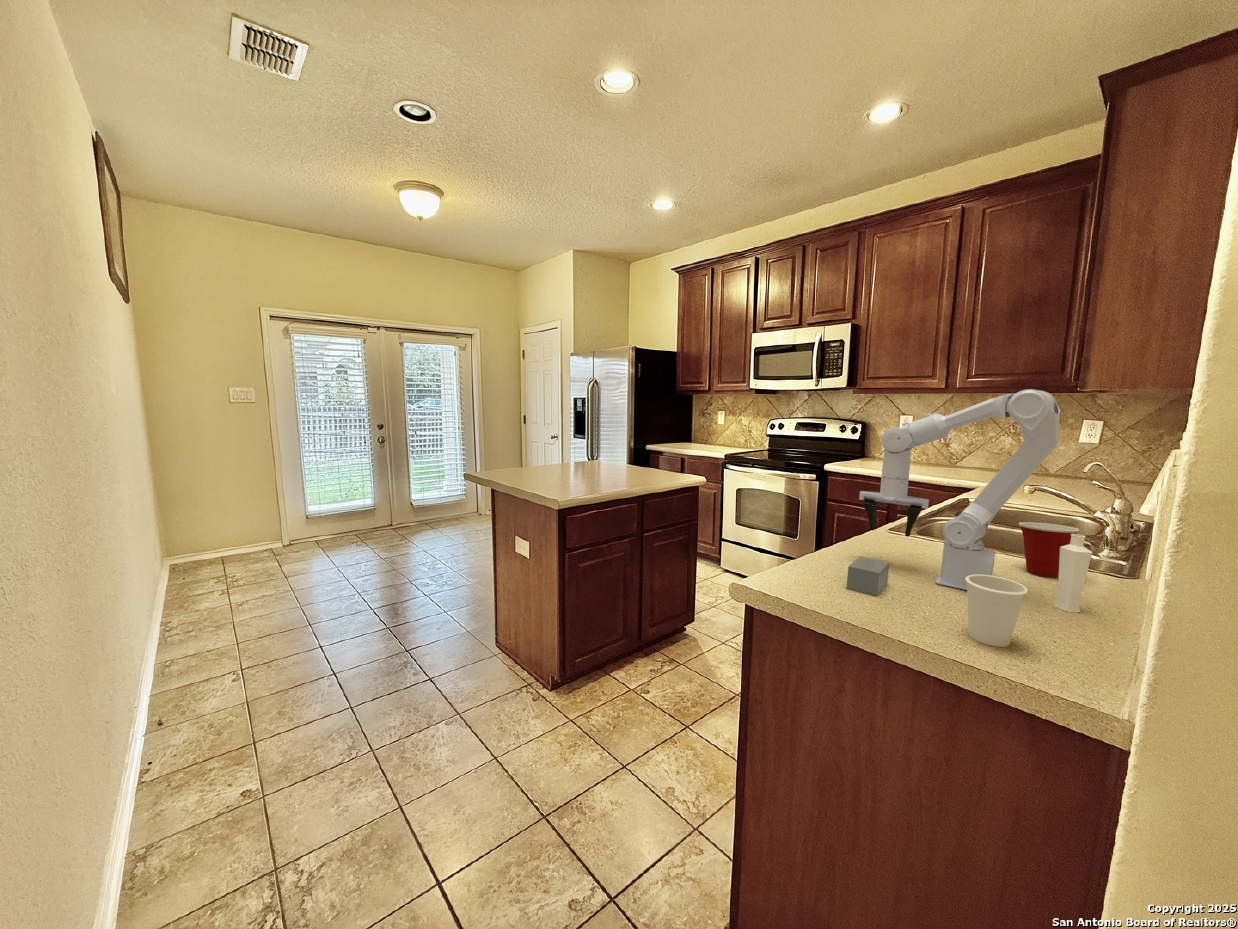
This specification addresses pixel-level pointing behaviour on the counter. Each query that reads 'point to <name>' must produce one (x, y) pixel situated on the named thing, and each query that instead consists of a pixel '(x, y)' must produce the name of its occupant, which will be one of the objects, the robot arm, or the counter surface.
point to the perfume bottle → (1072, 573)
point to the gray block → (868, 575)
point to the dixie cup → (993, 608)
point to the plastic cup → (1044, 546)
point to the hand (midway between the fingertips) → (889, 532)
